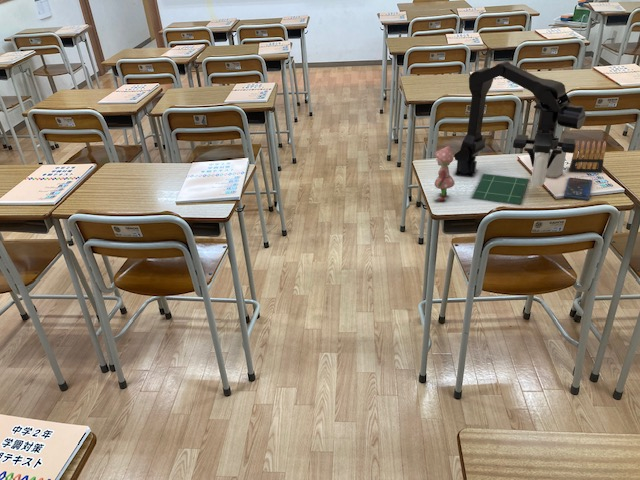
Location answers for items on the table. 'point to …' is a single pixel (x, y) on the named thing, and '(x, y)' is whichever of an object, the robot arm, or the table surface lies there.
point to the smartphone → (578, 188)
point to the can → (556, 165)
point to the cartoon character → (444, 171)
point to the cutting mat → (501, 189)
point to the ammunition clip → (588, 158)
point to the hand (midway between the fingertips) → (540, 167)
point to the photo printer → (540, 169)
